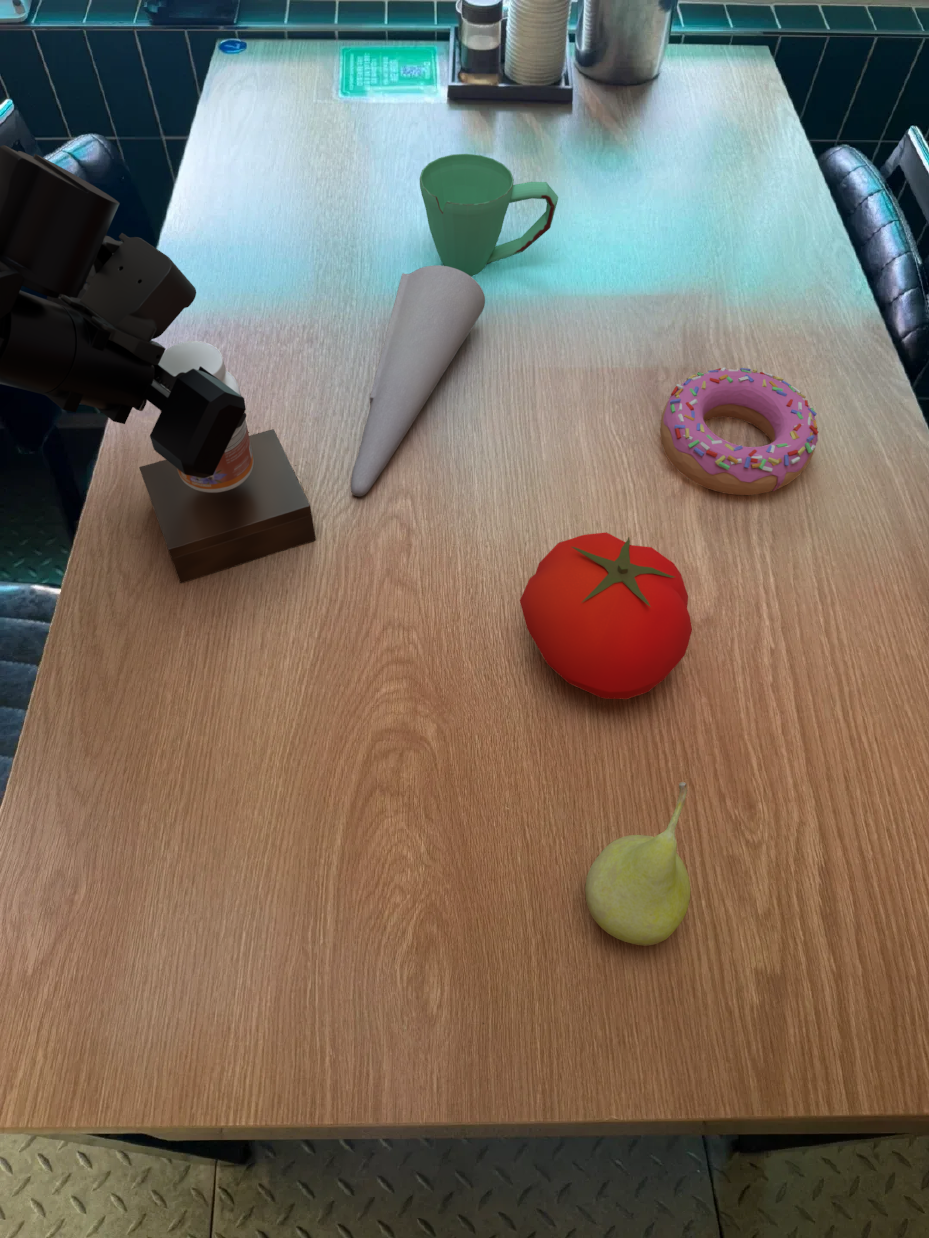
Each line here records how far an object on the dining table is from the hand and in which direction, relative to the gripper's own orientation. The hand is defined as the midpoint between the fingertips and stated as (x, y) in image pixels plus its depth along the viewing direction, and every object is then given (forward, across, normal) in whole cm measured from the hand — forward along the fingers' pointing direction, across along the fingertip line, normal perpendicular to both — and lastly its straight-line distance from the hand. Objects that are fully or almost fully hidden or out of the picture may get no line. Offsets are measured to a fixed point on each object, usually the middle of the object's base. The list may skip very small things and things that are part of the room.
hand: (216, 399), depth 73 cm
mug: (+40, +10, -21) cm, 46 cm away
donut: (+36, -27, -17) cm, 48 cm away
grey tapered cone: (+24, -2, -6) cm, 25 cm away
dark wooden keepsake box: (+9, 0, +10) cm, 13 cm away
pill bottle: (+4, 0, +6) cm, 7 cm away
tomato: (+17, -32, +2) cm, 36 cm away
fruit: (+6, -46, +13) cm, 48 cm away
